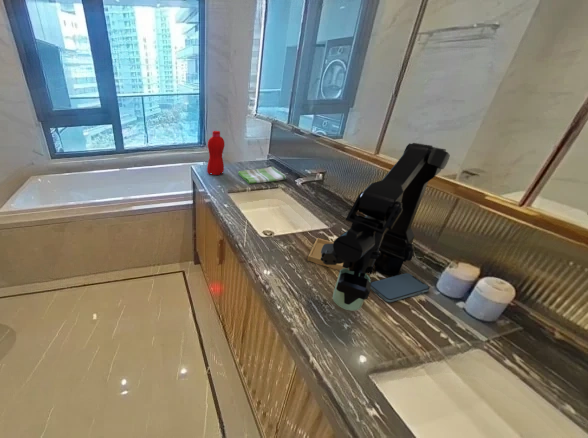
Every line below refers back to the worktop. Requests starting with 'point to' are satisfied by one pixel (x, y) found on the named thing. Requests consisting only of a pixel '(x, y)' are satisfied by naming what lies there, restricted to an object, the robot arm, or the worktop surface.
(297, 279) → the worktop surface
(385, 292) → the smartphone
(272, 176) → the dish towel
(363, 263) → the robot arm
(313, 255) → the tray
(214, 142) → the water bottle
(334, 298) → the cup
